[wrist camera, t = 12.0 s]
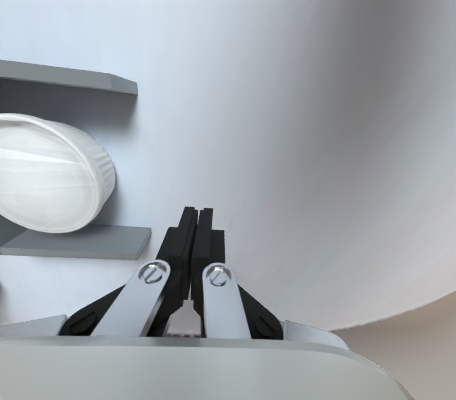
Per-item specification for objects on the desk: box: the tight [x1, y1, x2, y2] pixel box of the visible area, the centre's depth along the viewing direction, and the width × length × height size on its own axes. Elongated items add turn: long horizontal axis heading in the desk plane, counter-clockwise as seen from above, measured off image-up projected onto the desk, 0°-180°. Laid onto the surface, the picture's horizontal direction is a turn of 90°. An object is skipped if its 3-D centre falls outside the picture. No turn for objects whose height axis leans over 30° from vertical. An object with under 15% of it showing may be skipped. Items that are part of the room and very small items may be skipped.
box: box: [0, 60, 151, 260], centre depth 19 cm, size 15×18×5 cm
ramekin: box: [0, 113, 116, 233], centre depth 19 cm, size 11×11×5 cm
